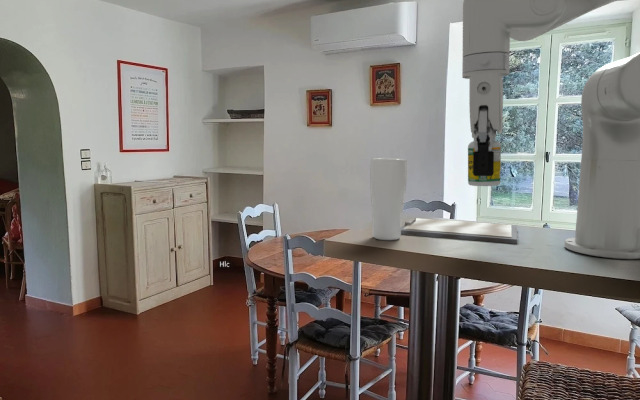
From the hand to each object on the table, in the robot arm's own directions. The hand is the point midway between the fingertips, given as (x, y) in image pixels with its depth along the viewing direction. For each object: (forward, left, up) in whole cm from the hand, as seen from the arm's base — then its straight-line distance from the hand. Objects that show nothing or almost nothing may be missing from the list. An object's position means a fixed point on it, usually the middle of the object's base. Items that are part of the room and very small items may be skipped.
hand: (484, 173), depth 83 cm
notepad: (+5, -13, -13) cm, 19 cm away
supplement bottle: (0, 0, -2) cm, 2 cm away
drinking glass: (+17, 0, -13) cm, 21 cm away
